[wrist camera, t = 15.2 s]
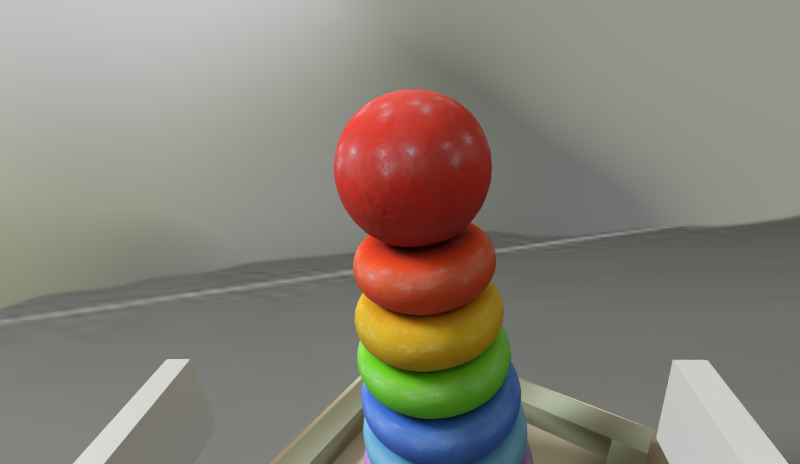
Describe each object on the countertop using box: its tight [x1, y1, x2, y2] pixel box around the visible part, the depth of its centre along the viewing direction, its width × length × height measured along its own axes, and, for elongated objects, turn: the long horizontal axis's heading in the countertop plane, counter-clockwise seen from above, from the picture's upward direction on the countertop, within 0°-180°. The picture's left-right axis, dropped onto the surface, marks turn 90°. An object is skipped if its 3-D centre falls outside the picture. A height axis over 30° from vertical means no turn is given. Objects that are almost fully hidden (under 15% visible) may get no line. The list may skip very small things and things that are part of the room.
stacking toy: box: [334, 89, 533, 464], centre depth 16 cm, size 8×8×19 cm
